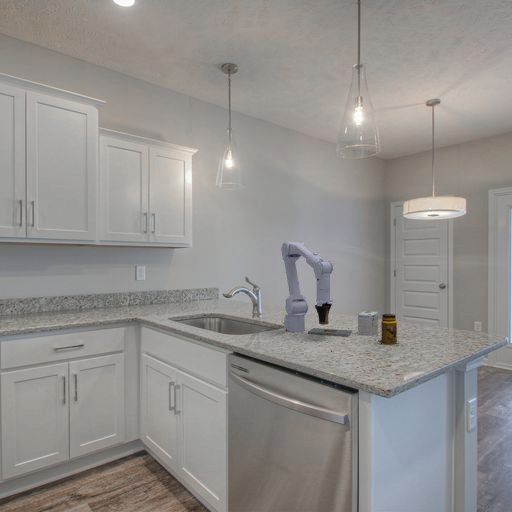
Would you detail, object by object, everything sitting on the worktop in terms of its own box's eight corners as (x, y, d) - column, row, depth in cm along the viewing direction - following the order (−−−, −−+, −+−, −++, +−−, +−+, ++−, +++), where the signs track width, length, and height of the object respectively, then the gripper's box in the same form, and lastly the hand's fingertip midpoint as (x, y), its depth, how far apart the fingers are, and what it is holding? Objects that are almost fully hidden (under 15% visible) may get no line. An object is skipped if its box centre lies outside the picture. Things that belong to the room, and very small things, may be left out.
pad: (310, 342, 158) (310, 339, 159) (314, 339, 165) (314, 336, 165) (333, 344, 154) (333, 341, 154) (337, 341, 161) (337, 337, 161)
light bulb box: (363, 333, 177) (363, 310, 177) (378, 335, 174) (378, 311, 174) (357, 337, 168) (357, 313, 168) (372, 339, 164) (372, 314, 164)
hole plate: (307, 337, 170) (307, 331, 170) (313, 333, 179) (313, 327, 179) (348, 340, 162) (348, 334, 163) (351, 335, 172) (351, 330, 172)
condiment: (396, 345, 152) (395, 316, 152) (374, 343, 156) (374, 314, 156) (399, 342, 158) (398, 313, 158) (378, 340, 162) (378, 312, 162)
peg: (317, 324, 159) (317, 310, 159) (320, 322, 162) (320, 308, 163) (327, 324, 157) (327, 310, 157) (329, 323, 161) (329, 309, 161)
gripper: (328, 291, 152) (329, 324, 152) (336, 288, 165) (336, 319, 165) (311, 290, 155) (312, 323, 154) (320, 287, 168) (320, 318, 168)
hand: (323, 321), depth 160 cm, fingers closed on peg, 4 cm apart
